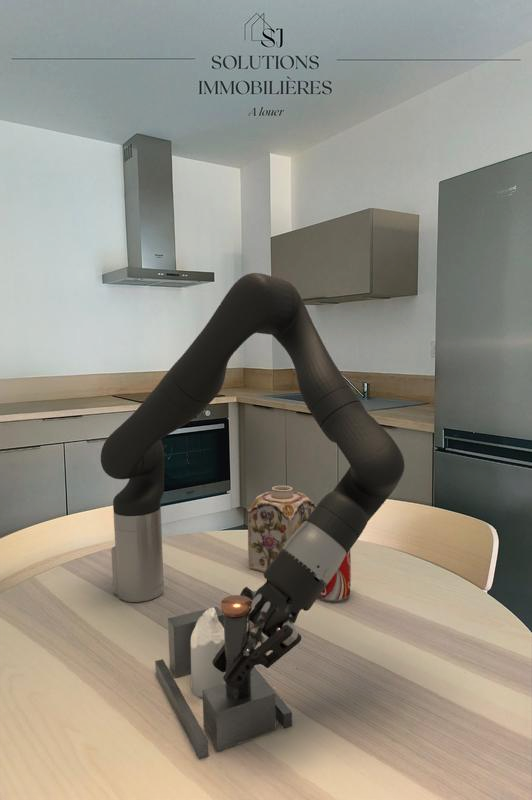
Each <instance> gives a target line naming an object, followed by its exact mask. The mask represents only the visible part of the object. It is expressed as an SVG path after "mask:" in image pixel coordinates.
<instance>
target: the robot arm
mask: <svg viewBox="0 0 532 800" xmlns="http://www.w3.org/2000/svg"><path fill="white" fill-rule="evenodd" d="M254 334H262V335H271V336H272V337H273V338H275V339H276V340H277V342H279V344H280V345H281V346H282V347H283V348H284V349H285V351H286V352H287V354H288V356H289V358H290V359H291V363H292V364H293V366H294V371H295V375H296V380H297V384H298V388H299V389H298V390H299V392H300V395H301V397H302V400H303V402H304V405H306V408H307V409H308V411H309V413H310V414H311V416H312V417H313V419H314V420H315V422H316V423H317V424H318V427H319V428H320V429H321V431H322V432H323V434H324V435H325V436H326V438H327V439H328V440H329V441H330V442H332V443H335V444H336V445H337V447H338V448H339V450H340V451H341V452H342V454H343V456H344V457H345V458H346V460H347V462H348V464H349V465H350V466H349V468H348V469H347V471H346V472H345V474H344V475H343V476H342V478H341V479H340V481H339V482H338V483H337V485H336V486H335V487H334V489H333V491H330V492H329V493H327V494H325V495H324V497H323V498H322V499H321V500H320V501H319V502H318V504H317V505H316V508H315V509H314V510H313V512H312V513H311V514H310V516H309V517H308V518H307V519H306V521H305V522H304V523H303V524H302V525H301V526H300V527H299V528H298V529H297V530H296V531H295V532H294V534H293V535H292V536H291V537H290V539H289V540H288V541H287V543H286V544H285V545H284V547H283V548H282V549H281V550H280V552H279V553H278V554H277V556H276V557H275V558H274V560H273V561H272V562H271V564H270V565H269V566H268V568H267V569H266V570H265V572H263V577H264V579H266V581H265V583H264V584H262V585H261V586H260V587H259V588H258V589H256V590H251V588H249V587H248V586H245V587H244V588H243V589H242V590H241V591H240V594H239V595H241V596H246V597H248V598H250V599H251V612H250V613H249V628H250V640H249V641H248V643H247V645H246V647H245V648H244V650H243V654H242V653H240V654H239V656H238V657H237V658H236V660H235V661H234V663H233V664H232V665H231V667H230V668H229V669H228V671H227V672H226V673H225V675H224V676H223V679H224V681H225V682H226V683H227V684H228V685H229V686H231V687H232V688H237V687H238V686H239V685H241V684H242V682H243V681H244V679H245V678H246V676H247V675H248V674H249V673H250V671H251V670H252V669H253V667H256V666H259V665H261V666H263V667H265V668H266V669H268V668H270V667H272V666H273V665H274V664H275V663H276V662H277V661H279V660H280V659H281V658H282V657H284V656H285V655H286V654H288V652H290V651H291V650H292V649H294V648H295V647H296V646H298V645H299V644H300V642H301V641H302V635H301V634H300V633H299V632H297V630H296V626H295V623H296V621H297V619H298V615H299V614H300V612H301V611H305V612H307V611H309V610H311V608H312V606H313V605H314V603H316V601H317V599H319V598H320V597H319V595H320V594H321V592H322V591H323V590H324V588H325V587H326V586H327V584H328V583H329V581H330V580H331V579H332V577H333V576H334V575H335V573H336V572H337V570H338V569H339V567H340V565H341V563H342V561H343V560H344V558H345V556H346V555H347V553H348V552H349V550H350V551H351V549H352V548H353V546H354V545H355V543H356V542H357V541H358V539H359V538H360V536H361V535H362V533H363V532H364V530H365V528H366V526H367V525H368V523H369V521H370V520H371V519H372V517H373V516H374V515H375V514H376V513H377V512H378V510H379V509H381V507H382V505H384V503H385V502H386V501H387V500H388V498H389V497H390V496H391V495H392V493H393V492H394V491H395V490H396V487H397V486H398V485H399V482H400V480H401V478H403V475H404V471H405V459H404V456H403V453H402V451H401V450H400V448H399V445H397V443H396V441H395V440H394V439H393V437H392V436H391V435H390V434H389V433H388V432H387V430H385V428H384V427H382V426H381V424H380V423H379V422H378V421H377V420H376V419H375V418H374V417H373V416H372V415H370V413H368V411H367V410H366V408H365V407H364V405H363V403H362V401H361V400H360V399H359V397H358V396H357V394H356V393H355V391H354V390H353V388H352V387H351V386H350V384H349V383H348V381H347V380H346V379H345V377H344V375H343V374H342V373H341V371H340V370H339V368H338V367H337V365H336V363H335V362H334V360H333V359H332V357H331V355H330V353H329V352H328V350H327V347H326V346H325V344H324V342H323V340H322V338H321V336H320V334H319V333H318V330H317V328H316V327H315V324H314V322H313V320H312V318H311V316H310V314H309V311H308V309H307V306H306V305H305V303H304V301H303V299H302V297H301V295H300V293H299V292H298V290H297V288H296V287H295V286H294V285H293V284H292V283H291V282H289V281H288V280H285V279H282V278H279V277H277V276H272V275H269V274H265V273H261V272H260V273H259V272H251V273H248V274H244V275H243V276H242V277H240V278H238V280H237V281H236V282H234V283H233V285H232V286H231V287H230V289H229V290H228V292H227V293H226V294H225V296H224V298H222V300H221V302H220V303H219V305H218V307H216V309H215V312H214V313H213V314H212V316H211V317H210V319H209V320H208V322H207V323H206V325H205V326H204V327H203V329H202V330H201V332H200V333H199V334H198V335H197V336H196V338H195V339H194V340H193V342H192V343H191V344H190V345H189V347H188V348H187V349H186V351H184V353H183V354H182V355H181V357H179V359H177V361H176V362H174V363H173V365H172V367H171V368H170V369H169V370H168V371H167V372H166V374H165V375H164V376H163V377H162V378H161V380H160V381H159V383H158V384H157V385H156V387H155V388H154V389H153V390H152V391H151V392H150V394H148V396H147V397H146V398H145V399H144V400H143V402H142V403H140V405H139V406H138V407H137V409H136V410H135V411H134V412H133V413H132V414H131V415H130V416H129V417H128V418H127V419H126V420H124V422H123V423H122V424H120V426H118V427H117V428H116V429H115V430H114V431H113V432H112V433H110V435H109V436H108V437H107V438H106V439H105V441H104V443H103V445H102V447H101V448H102V449H101V452H100V463H101V468H102V470H103V471H104V473H105V474H106V475H107V476H109V477H110V478H113V479H115V480H128V482H127V483H126V485H125V486H124V487H123V488H122V489H121V491H119V492H118V493H117V494H116V495H115V496H114V497H113V502H112V507H113V509H112V510H113V528H114V546H113V547H112V548H111V551H110V553H111V569H112V570H111V572H112V573H111V574H112V588H113V589H112V590H113V595H116V596H117V597H118V598H119V599H120V600H122V601H124V602H132V603H140V602H146V601H150V600H153V599H156V598H158V597H160V596H161V595H162V594H163V593H164V591H165V585H164V584H165V581H164V578H165V577H164V559H163V558H164V557H163V556H164V554H163V530H162V511H161V510H162V505H161V504H162V503H161V502H162V501H161V500H162V498H163V495H164V490H165V451H164V450H165V449H164V444H163V442H162V439H164V438H165V437H166V436H169V435H170V434H171V433H173V432H175V431H177V430H178V429H180V428H182V427H183V426H185V425H186V424H188V423H190V422H191V421H192V420H194V419H195V418H196V417H198V416H199V415H200V414H201V413H202V412H203V411H204V410H205V409H206V408H207V407H208V406H209V405H210V404H211V403H212V401H213V400H215V398H216V397H217V396H218V395H219V393H220V392H221V390H222V388H223V385H224V383H225V379H226V373H227V368H228V363H229V361H230V360H231V357H232V356H233V355H234V353H236V351H237V350H238V349H239V348H240V347H241V346H242V345H243V344H244V343H245V341H247V340H248V339H249V338H250V337H252V335H254ZM263 634H264V635H265V636H264V635H263ZM258 643H260V645H258ZM257 645H258V646H257ZM270 651H271V652H270ZM269 652H270V653H269ZM267 653H269V654H267ZM212 664H213V665H214V667H215V668H217V669H218V670H220V671H221V672H225V644H224V645H223V646H222V648H221V649H220V651H219V652H218V653H217V654H216V656H215V658H214V659H213V661H212Z"/></svg>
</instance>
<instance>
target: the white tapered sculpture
mask: <svg viewBox="0 0 532 800" xmlns="http://www.w3.org/2000/svg"><path fill="white" fill-rule="evenodd" d="M210 608H211V609H210ZM207 609H208V610H206V611H205V613H203V615H202V616H201V617H200V618H199V619H198V621H197V623H196V626H195V628H194V630H193V632H192V635H191V674H190V688H191V691H192V693H193V695H195V696H196V697H198V698H202V699H203V693H202V690H205V689H208V688H211V687H215V686H218V685H221V684H225V683H226V682H225V681H224V679H223V676H224V675H225V672H221V671H220V670H218V669H217V668H215V667H214V665H213V664H212V661H213V659H214V658H215V656H216V654H217V653H218V652H219V651H220V649H221V648H222V646H223V645H224V644H225V639H224V628H223V626H222V625H221V623H220V622H219V621H218V617H217V614H216V610H215V609H214V607H209V608H207Z"/></svg>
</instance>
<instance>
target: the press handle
mask: <svg viewBox="0 0 532 800" xmlns="http://www.w3.org/2000/svg"><path fill="white" fill-rule="evenodd" d="M220 608H221V610H220V611H221V612H222V613H223V614H224V639H225V673H226V672H227V671H228V669H229V668H230V667H231V665H232V664H233V663H234V661H235V660H236V658H237V657H238V656H239V654H240V653H242V654H243V650H244V648H245V647H246V645H247V643H248V641H249V640H250V628H249V613H250V612H251V599H250V598H248V597H246V596H241V595H240V594H234V595H230V596H226V597H224V598H223V599H222V600H221V601H220ZM259 673H260V672H259ZM259 673H258V674H255V675H251V671H250V673H249V674H248V675H247V676H246V678H245V679H244V681H243V682H242V684H241V685H239V686H238V687H237V688H232V687H231V686H229V685H228V684H227V683H225V684H221V685H218V686H215V687H211V688H208V689H205V690H202V693H203V698H202V720H203V728H204V730H205V731H206V733H207V734H206V735H208V737H209V739H210V740H211V743H212V744H213V746H214V748H215V749H216V752H219V751H222V750H224V749H227V748H231V747H232V746H233V747H234V746H236V745H239V744H241V743H244V742H247V741H250V740H253V739H256V738H258V737H262V736H264V735H268V734H270V733H272V732H275V731H277V719H276V708H275V693H274V691H275V690H274V689H273V690H274V691H273V690H272V689H271V688H270V687H269V685H270V684H269V683H268V684H269V685H268V684H267V683H266V682H265V681H264V679H265V678H264V677H263V678H264V679H263V678H262V677H261V676H260V675H259Z"/></svg>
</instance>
